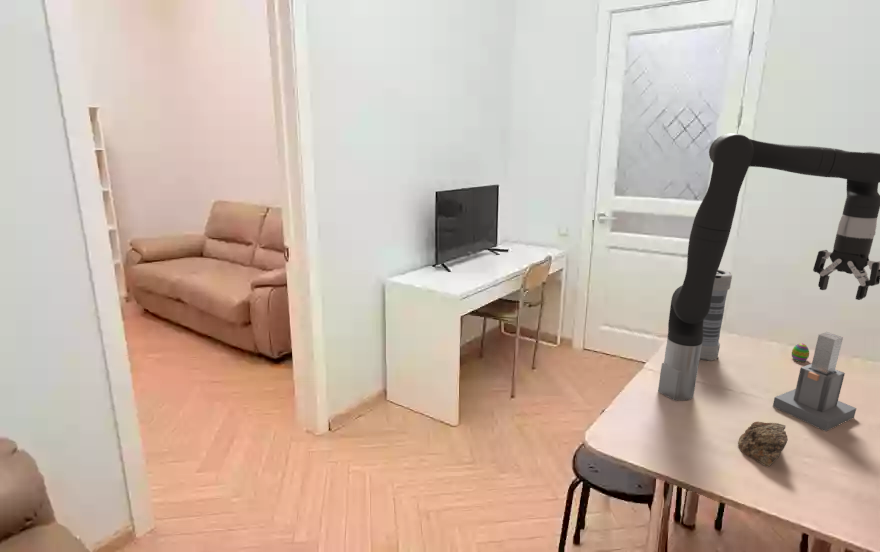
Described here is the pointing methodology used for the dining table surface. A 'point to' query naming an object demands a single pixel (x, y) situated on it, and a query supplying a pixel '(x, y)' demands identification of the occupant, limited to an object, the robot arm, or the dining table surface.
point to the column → (826, 353)
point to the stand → (816, 399)
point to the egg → (800, 352)
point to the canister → (715, 316)
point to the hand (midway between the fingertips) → (840, 294)
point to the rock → (763, 442)
